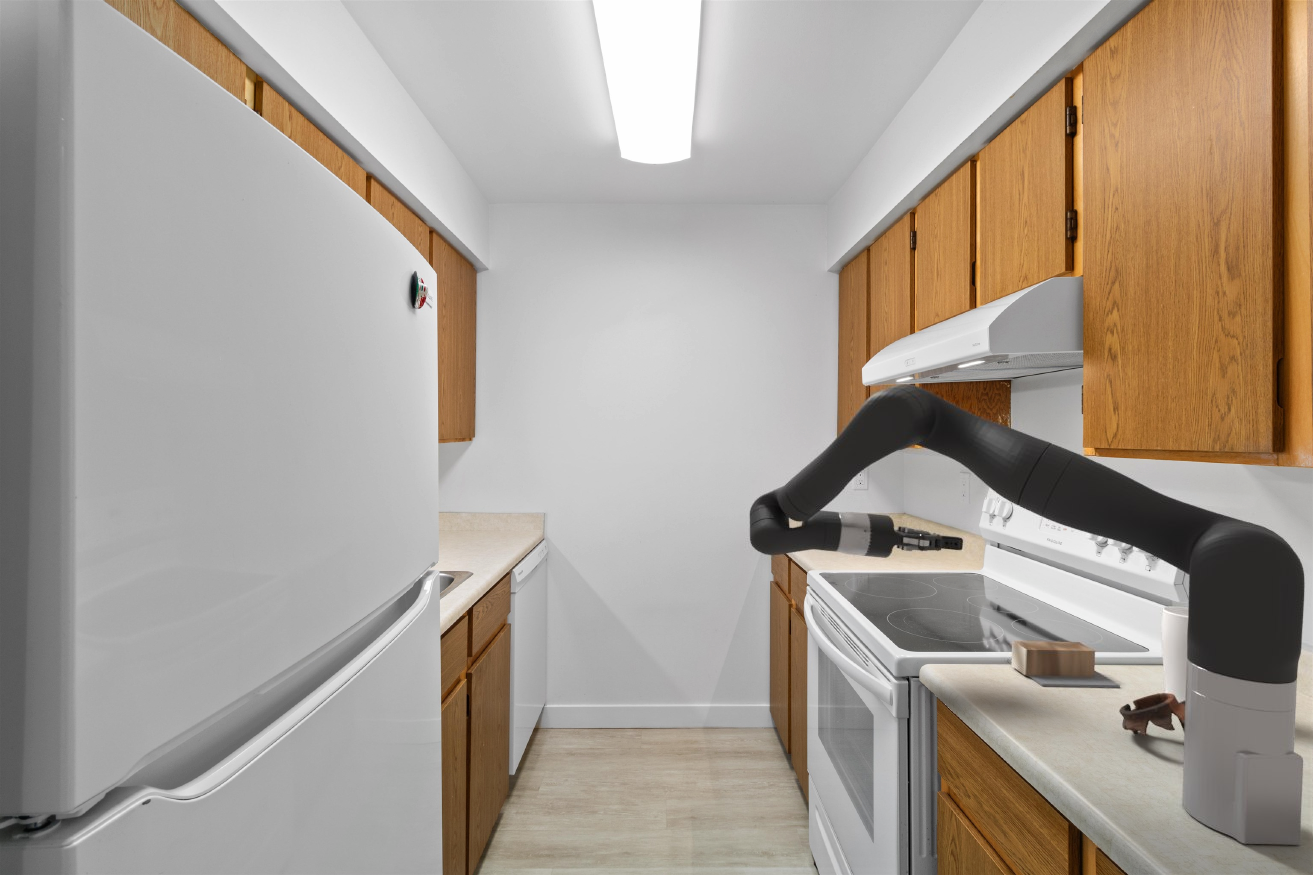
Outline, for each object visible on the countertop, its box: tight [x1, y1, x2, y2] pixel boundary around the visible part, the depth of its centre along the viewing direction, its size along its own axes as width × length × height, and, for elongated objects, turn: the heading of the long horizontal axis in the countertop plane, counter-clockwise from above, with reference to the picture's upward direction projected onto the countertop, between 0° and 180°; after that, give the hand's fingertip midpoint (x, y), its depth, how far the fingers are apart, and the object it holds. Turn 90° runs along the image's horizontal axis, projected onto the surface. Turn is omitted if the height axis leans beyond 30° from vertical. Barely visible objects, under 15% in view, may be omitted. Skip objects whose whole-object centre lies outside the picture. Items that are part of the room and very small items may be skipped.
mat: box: [1006, 659, 1121, 689], centre depth 117 cm, size 12×13×1 cm
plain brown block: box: [1010, 640, 1096, 676], centre depth 117 cm, size 4×4×12 cm
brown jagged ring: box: [1119, 692, 1185, 736], centre depth 91 cm, size 12×10×8 cm
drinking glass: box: [1160, 605, 1188, 703], centre depth 104 cm, size 7×7×15 cm
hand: (960, 543), depth 116 cm, fingers closed
